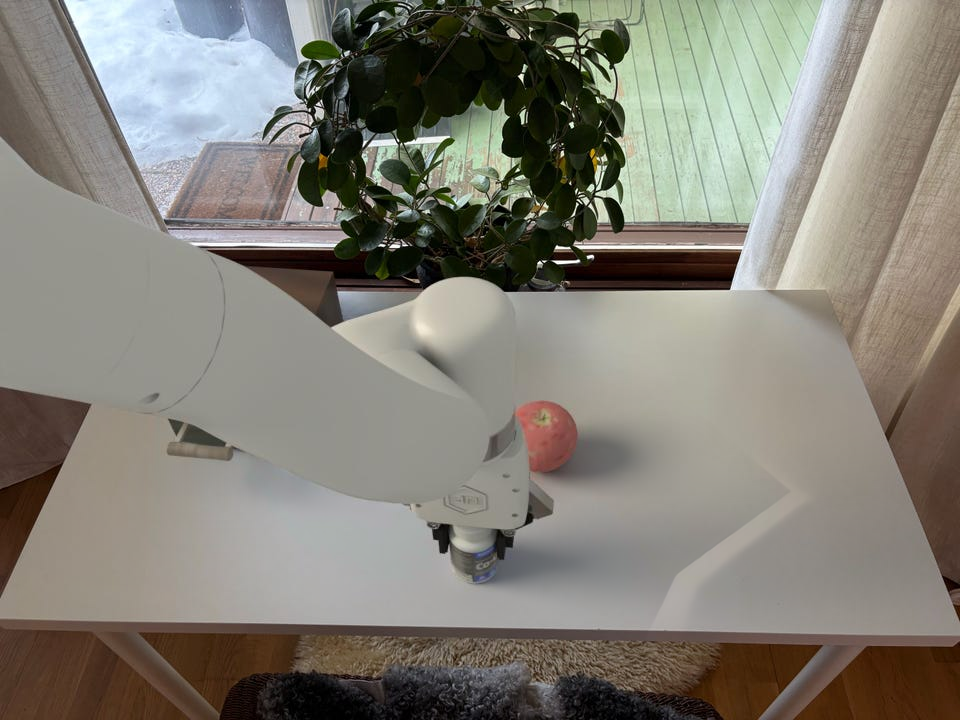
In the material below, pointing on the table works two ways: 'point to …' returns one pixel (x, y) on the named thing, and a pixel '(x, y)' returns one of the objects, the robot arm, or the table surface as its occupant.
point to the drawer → (198, 436)
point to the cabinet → (307, 290)
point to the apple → (547, 434)
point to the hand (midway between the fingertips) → (474, 542)
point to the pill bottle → (473, 552)
